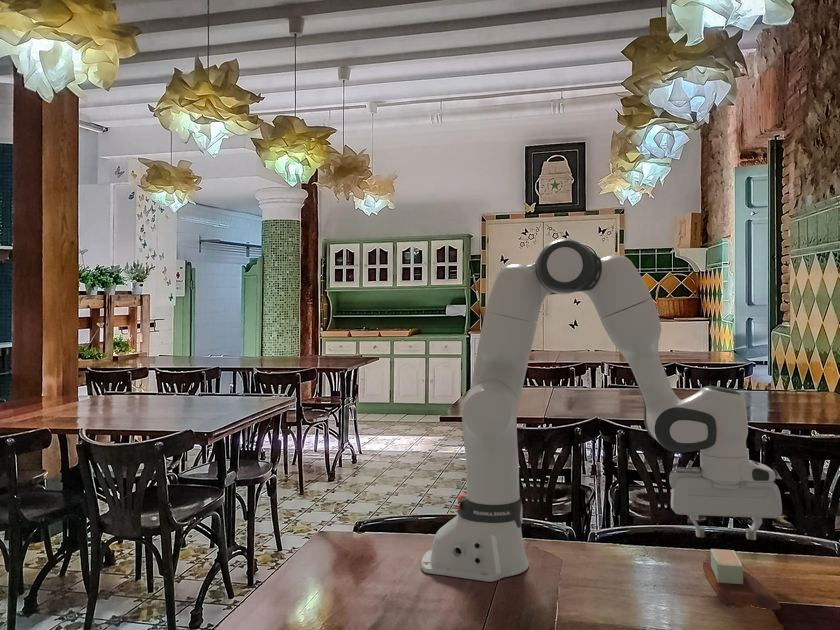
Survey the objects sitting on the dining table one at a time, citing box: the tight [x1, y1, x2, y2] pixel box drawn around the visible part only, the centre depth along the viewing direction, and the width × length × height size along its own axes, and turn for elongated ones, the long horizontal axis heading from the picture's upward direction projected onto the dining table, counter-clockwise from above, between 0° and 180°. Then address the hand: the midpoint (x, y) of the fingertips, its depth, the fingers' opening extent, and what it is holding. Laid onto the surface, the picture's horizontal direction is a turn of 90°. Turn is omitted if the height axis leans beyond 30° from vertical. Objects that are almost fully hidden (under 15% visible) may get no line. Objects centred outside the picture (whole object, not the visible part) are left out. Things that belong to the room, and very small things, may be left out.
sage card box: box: [710, 548, 743, 584], centre depth 135 cm, size 4×4×9 cm
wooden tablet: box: [703, 562, 782, 611], centre depth 135 cm, size 27×10×2 cm, turn 171°
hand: (725, 537), depth 137 cm, fingers open, 8 cm apart
